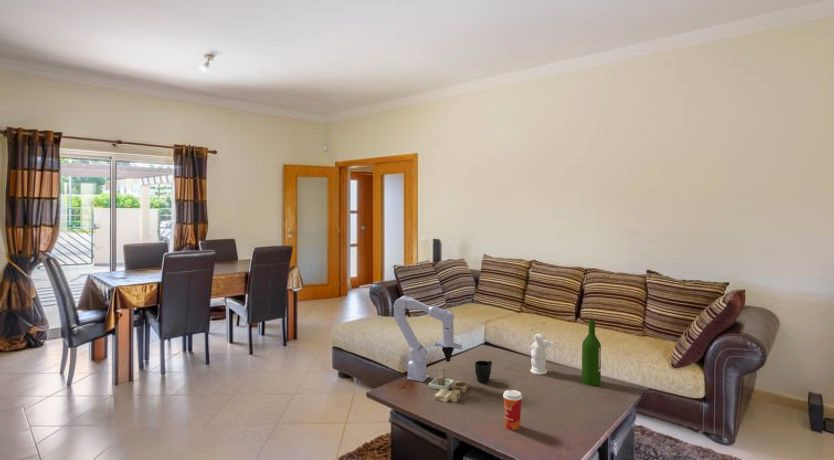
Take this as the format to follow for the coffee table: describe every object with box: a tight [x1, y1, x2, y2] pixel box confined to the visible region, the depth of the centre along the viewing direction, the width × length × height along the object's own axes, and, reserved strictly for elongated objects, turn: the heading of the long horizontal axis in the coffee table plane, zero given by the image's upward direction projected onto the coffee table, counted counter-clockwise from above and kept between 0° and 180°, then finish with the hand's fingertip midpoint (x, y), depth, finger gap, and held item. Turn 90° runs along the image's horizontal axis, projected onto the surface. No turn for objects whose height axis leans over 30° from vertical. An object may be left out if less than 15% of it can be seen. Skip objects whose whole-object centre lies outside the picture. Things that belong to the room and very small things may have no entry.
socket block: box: [451, 380, 471, 393], centre depth 213 cm, size 7×7×2 cm
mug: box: [474, 360, 493, 384], centre depth 222 cm, size 8×12×10 cm
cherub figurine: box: [529, 333, 555, 376], centre depth 232 cm, size 12×12×22 cm
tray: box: [427, 376, 455, 391], centre depth 216 cm, size 10×10×2 cm
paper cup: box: [502, 389, 523, 431], centre depth 174 cm, size 8×8×14 cm
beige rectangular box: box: [434, 389, 453, 403], centre depth 202 cm, size 6×8×2 cm
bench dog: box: [449, 390, 461, 403], centre depth 200 cm, size 3×5×4 cm, turn 155°
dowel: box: [437, 367, 446, 386], centre depth 216 cm, size 4×4×8 cm
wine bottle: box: [581, 318, 602, 387], centre depth 218 cm, size 9×9×32 cm
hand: (448, 361), depth 221 cm, fingers closed
